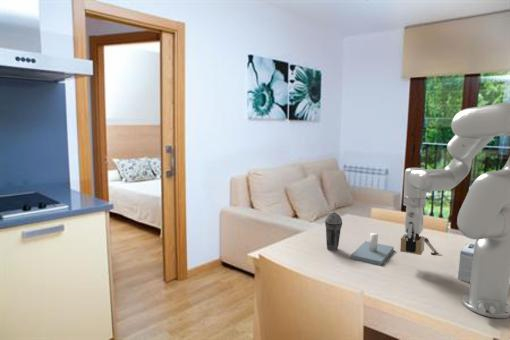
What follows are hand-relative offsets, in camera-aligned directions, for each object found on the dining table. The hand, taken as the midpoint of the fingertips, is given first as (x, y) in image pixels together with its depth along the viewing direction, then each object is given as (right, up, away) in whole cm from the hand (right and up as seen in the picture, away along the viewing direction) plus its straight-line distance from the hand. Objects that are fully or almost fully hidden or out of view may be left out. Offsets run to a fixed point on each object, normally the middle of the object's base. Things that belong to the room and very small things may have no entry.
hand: (412, 248), depth 134 cm
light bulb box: (+18, -9, -5) cm, 21 cm away
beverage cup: (-25, -5, +20) cm, 33 cm away
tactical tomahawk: (+20, -5, +25) cm, 33 cm away
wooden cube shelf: (0, -1, 0) cm, 1 cm away
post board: (-10, -6, +15) cm, 19 cm away
